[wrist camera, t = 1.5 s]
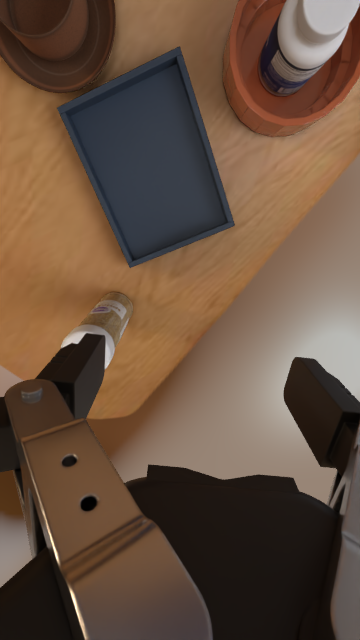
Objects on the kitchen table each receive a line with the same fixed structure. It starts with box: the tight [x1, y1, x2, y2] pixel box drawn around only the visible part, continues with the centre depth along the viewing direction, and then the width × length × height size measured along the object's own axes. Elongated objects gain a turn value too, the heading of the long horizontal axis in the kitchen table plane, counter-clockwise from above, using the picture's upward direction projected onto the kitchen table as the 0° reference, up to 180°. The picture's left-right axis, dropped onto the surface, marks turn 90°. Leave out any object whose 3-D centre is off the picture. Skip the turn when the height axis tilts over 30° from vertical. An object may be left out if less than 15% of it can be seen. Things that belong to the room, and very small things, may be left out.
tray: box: [57, 46, 235, 268], centre depth 31 cm, size 17×13×2 cm
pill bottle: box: [259, 0, 360, 96], centre depth 24 cm, size 5×5×10 cm
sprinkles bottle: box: [61, 292, 133, 369], centre depth 32 cm, size 5×5×14 cm
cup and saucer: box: [0, 0, 115, 93], centre depth 25 cm, size 12×12×6 cm
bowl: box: [223, 0, 360, 137], centre depth 27 cm, size 12×12×4 cm
